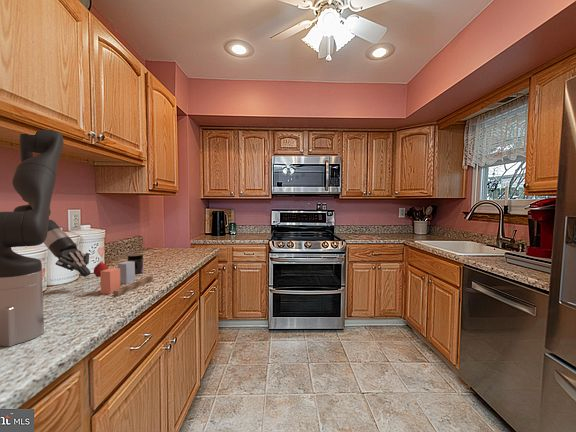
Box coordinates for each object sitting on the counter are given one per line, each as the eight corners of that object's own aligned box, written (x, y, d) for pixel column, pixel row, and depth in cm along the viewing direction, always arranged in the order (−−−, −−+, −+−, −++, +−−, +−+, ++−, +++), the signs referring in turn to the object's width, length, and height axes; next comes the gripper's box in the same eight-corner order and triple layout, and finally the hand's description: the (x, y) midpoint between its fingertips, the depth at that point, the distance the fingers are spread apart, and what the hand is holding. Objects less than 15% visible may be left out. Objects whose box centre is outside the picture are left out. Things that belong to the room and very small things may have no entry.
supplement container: (142, 277, 127) (142, 255, 126) (126, 278, 124) (125, 256, 124) (144, 273, 133) (144, 253, 133) (128, 274, 131) (128, 253, 130)
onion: (101, 280, 121) (100, 263, 121) (90, 279, 122) (90, 262, 122) (111, 276, 127) (111, 260, 126) (101, 276, 128) (101, 259, 128)
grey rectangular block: (126, 284, 111) (126, 264, 111) (118, 283, 112) (117, 263, 111) (135, 280, 116) (134, 261, 116) (126, 280, 117) (126, 261, 116)
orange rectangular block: (110, 294, 99) (110, 271, 99) (100, 293, 100) (100, 271, 99) (120, 289, 104) (120, 268, 104) (111, 289, 105) (110, 268, 104)
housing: (118, 299, 97) (118, 291, 97) (85, 297, 99) (85, 289, 99) (152, 283, 117) (152, 276, 117) (125, 282, 119) (125, 275, 118)
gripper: (47, 238, 97) (78, 273, 96) (80, 234, 110) (107, 264, 109) (35, 252, 98) (65, 286, 97) (69, 246, 111) (96, 276, 110)
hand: (87, 275), depth 103 cm, fingers closed
